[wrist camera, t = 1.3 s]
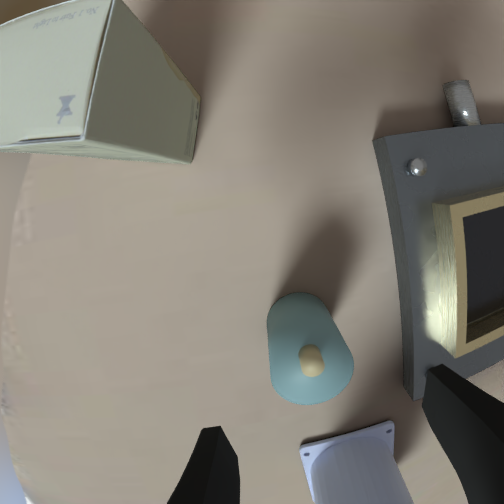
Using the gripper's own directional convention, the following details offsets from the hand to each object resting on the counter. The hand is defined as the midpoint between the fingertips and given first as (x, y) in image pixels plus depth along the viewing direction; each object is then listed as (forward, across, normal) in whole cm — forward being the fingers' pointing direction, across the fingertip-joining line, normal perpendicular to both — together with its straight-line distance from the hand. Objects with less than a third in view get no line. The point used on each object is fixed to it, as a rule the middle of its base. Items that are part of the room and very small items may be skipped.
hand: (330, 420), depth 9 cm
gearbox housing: (+10, -14, 0) cm, 18 cm away
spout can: (+10, 0, +3) cm, 11 cm away
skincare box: (+13, +6, -11) cm, 18 cm away
